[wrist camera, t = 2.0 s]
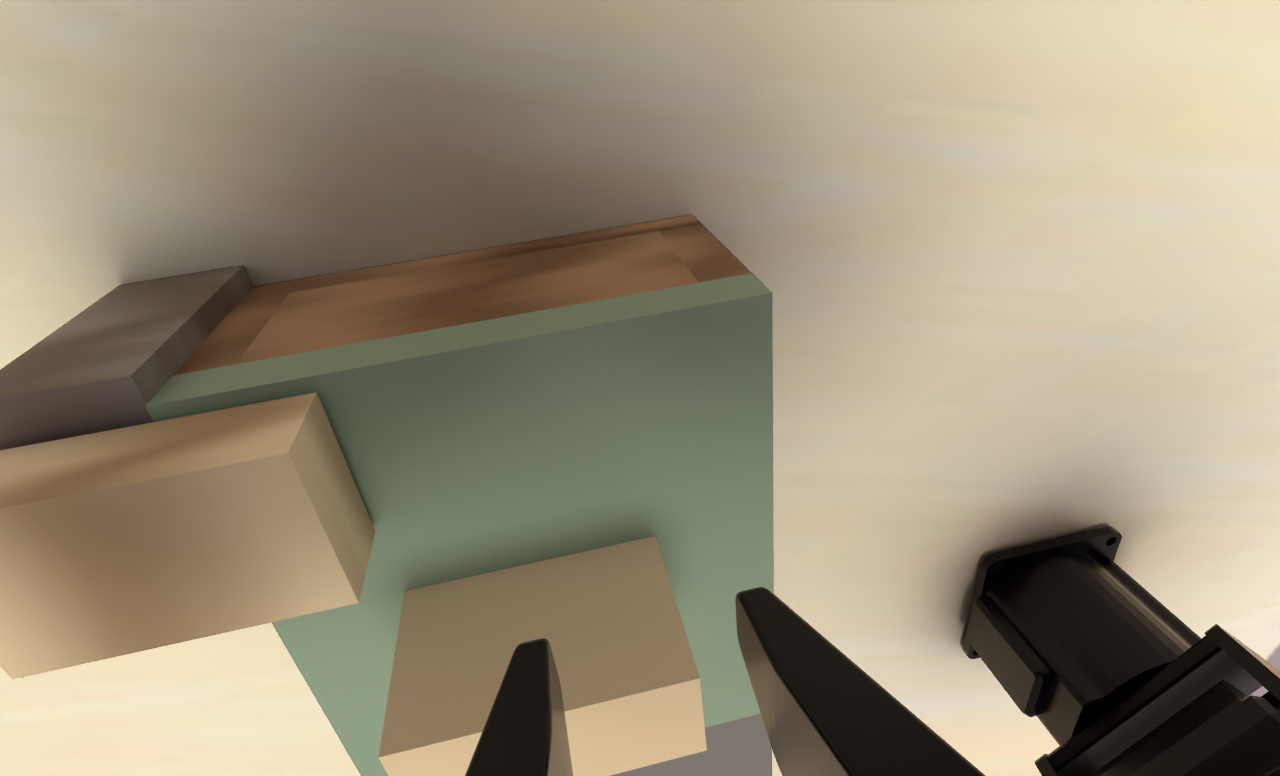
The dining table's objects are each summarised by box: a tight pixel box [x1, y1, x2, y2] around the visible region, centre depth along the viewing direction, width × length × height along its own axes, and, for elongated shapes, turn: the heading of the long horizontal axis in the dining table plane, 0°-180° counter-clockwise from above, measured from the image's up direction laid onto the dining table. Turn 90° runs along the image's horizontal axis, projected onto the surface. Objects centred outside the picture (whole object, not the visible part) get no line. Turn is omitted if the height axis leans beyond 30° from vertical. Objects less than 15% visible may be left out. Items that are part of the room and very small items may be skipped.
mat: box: [610, 714, 772, 776], centre depth 30 cm, size 16×17×1 cm
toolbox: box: [0, 215, 751, 450], centre depth 18 cm, size 15×15×6 cm
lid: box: [145, 273, 774, 776], centre depth 15 cm, size 12×14×5 cm
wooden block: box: [0, 392, 375, 679], centre depth 12 cm, size 6×4×2 cm, turn 96°
